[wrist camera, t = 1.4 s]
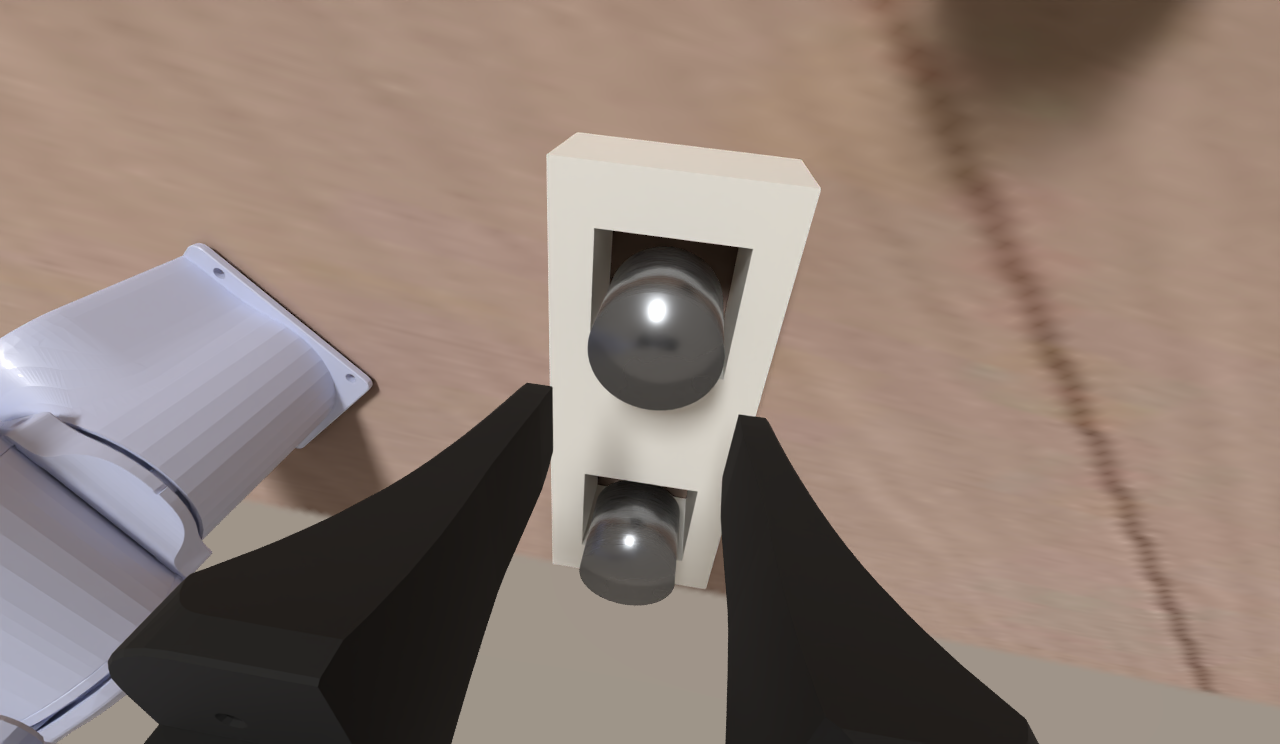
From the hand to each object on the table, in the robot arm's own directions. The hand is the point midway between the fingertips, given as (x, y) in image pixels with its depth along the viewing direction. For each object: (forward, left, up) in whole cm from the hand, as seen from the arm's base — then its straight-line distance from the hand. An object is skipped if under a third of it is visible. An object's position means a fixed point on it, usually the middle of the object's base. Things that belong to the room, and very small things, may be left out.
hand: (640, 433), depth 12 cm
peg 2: (+8, -8, -7) cm, 13 cm away
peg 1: (0, 0, -7) cm, 7 cm away
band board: (+4, -4, -10) cm, 12 cm away
